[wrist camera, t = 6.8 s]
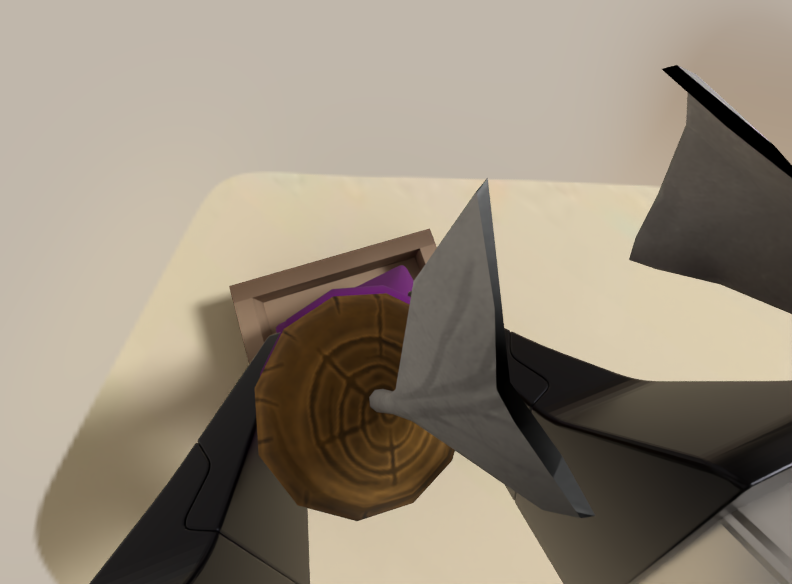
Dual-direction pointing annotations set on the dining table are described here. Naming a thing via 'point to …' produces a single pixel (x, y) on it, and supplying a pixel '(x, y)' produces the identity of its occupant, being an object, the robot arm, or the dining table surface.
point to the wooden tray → (320, 283)
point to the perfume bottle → (495, 336)
